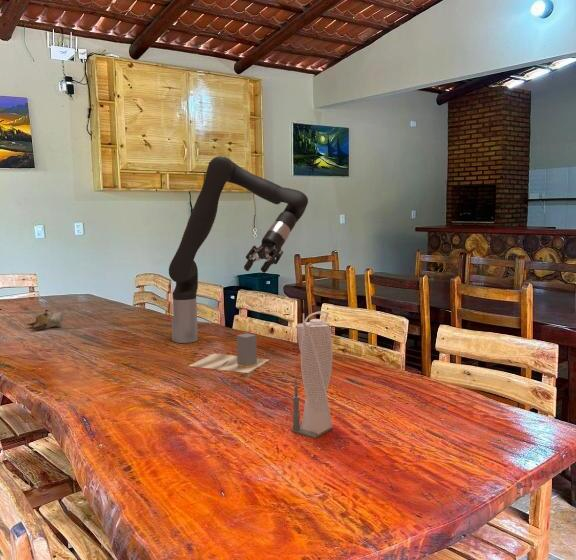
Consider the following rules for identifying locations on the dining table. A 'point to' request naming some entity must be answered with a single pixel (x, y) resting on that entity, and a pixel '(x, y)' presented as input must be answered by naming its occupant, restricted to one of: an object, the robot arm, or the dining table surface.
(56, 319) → the ceramic sculpture
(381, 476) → the dining table surface
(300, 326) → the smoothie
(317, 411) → the skyscraper
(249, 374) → the board
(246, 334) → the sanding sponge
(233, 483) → the dining table surface
